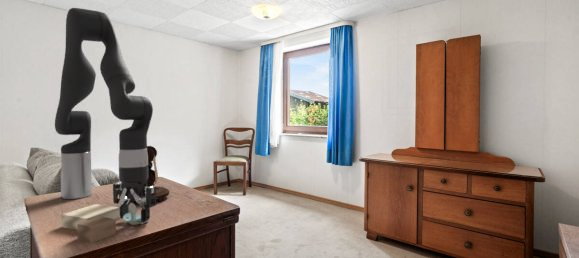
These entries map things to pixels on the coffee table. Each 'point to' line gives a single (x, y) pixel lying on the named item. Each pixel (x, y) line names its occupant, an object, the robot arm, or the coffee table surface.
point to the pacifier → (133, 215)
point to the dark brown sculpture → (153, 175)
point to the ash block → (89, 215)
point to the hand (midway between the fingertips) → (134, 219)
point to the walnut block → (96, 229)
